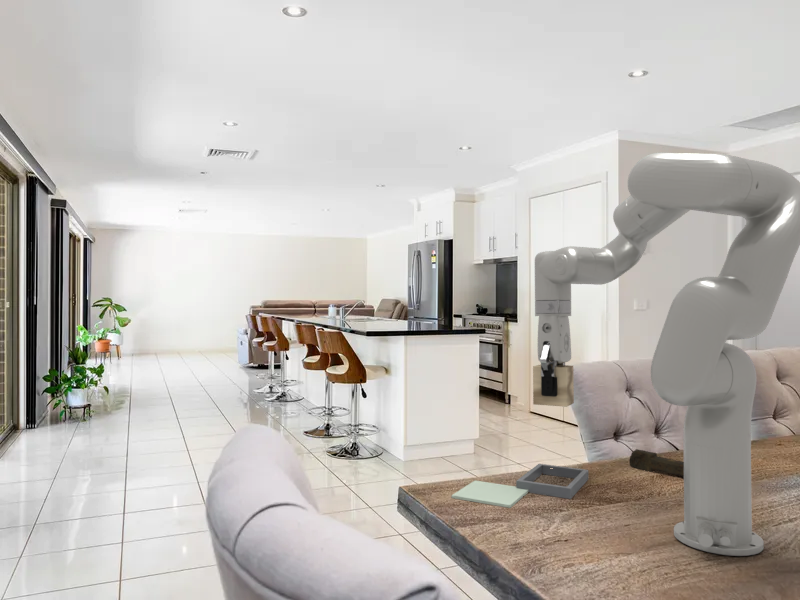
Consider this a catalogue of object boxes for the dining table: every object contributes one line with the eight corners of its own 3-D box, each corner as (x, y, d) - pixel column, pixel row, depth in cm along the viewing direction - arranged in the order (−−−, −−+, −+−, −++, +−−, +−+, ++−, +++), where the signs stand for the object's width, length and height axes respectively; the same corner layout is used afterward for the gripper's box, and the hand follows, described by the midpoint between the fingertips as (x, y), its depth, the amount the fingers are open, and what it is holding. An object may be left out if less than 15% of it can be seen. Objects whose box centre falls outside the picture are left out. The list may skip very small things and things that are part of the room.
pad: (510, 507, 110) (510, 505, 110) (451, 497, 116) (451, 495, 116) (529, 491, 120) (529, 488, 120) (474, 482, 126) (475, 480, 126)
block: (566, 406, 121) (566, 367, 121) (533, 404, 124) (533, 366, 125) (573, 403, 126) (573, 365, 126) (541, 400, 130) (541, 364, 130)
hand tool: (718, 483, 127) (718, 461, 128) (710, 486, 125) (710, 464, 125) (635, 466, 142) (635, 446, 142) (627, 468, 140) (627, 448, 140)
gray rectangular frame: (570, 499, 115) (570, 488, 115) (516, 490, 121) (516, 480, 121) (588, 479, 129) (588, 469, 129) (538, 472, 135) (538, 463, 135)
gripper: (560, 308, 117) (561, 400, 116) (580, 309, 132) (581, 390, 131) (523, 309, 120) (523, 398, 120) (546, 309, 135) (547, 388, 135)
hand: (553, 393), depth 125 cm, fingers closed on block, 6 cm apart
